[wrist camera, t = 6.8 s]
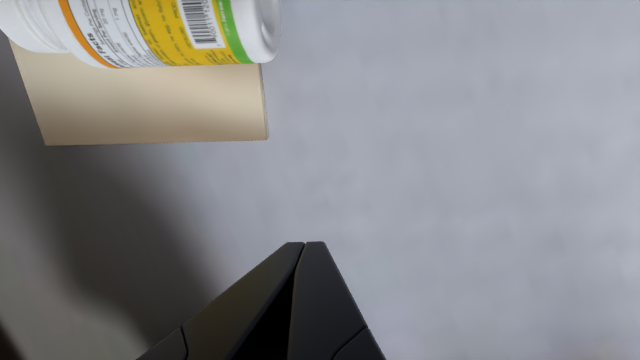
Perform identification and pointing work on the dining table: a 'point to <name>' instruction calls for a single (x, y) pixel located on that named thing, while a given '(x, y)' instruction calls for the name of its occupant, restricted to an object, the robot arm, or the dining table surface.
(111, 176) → the dining table surface
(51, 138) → the birch mat
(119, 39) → the supplement bottle
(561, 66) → the dining table surface
